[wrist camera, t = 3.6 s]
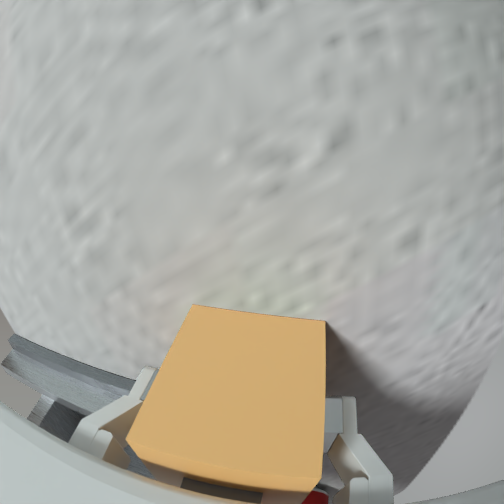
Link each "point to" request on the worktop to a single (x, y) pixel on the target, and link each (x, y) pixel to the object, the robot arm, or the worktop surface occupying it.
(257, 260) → the worktop surface
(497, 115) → the worktop surface
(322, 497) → the soda can
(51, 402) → the rail
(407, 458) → the worktop surface
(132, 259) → the worktop surface
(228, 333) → the block
